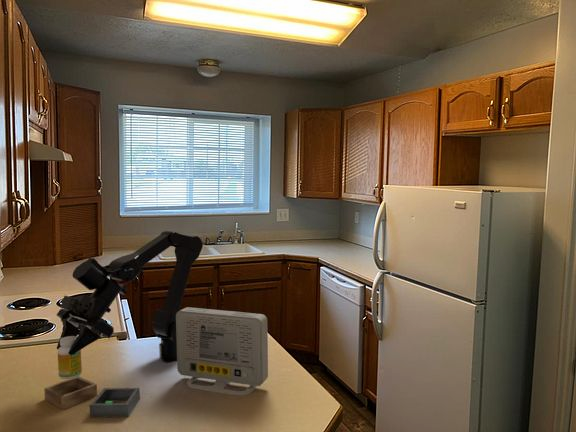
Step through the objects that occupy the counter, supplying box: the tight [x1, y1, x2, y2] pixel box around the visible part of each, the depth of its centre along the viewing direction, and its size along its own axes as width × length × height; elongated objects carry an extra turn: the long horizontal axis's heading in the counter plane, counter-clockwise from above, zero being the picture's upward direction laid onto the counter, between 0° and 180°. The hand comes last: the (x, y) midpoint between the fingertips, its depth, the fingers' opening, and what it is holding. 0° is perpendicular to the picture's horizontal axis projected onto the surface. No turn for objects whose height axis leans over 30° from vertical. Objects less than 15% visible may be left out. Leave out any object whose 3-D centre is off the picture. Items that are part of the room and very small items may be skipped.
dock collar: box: [89, 387, 141, 419], centre depth 114 cm, size 9×9×4 cm
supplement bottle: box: [57, 336, 83, 380], centre depth 120 cm, size 5×5×10 cm
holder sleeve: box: [43, 376, 98, 410], centre depth 120 cm, size 9×9×3 cm
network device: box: [176, 306, 269, 396], centre depth 126 cm, size 26×9×20 cm, turn 71°
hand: (63, 351), depth 118 cm, fingers closed on supplement bottle, 5 cm apart
